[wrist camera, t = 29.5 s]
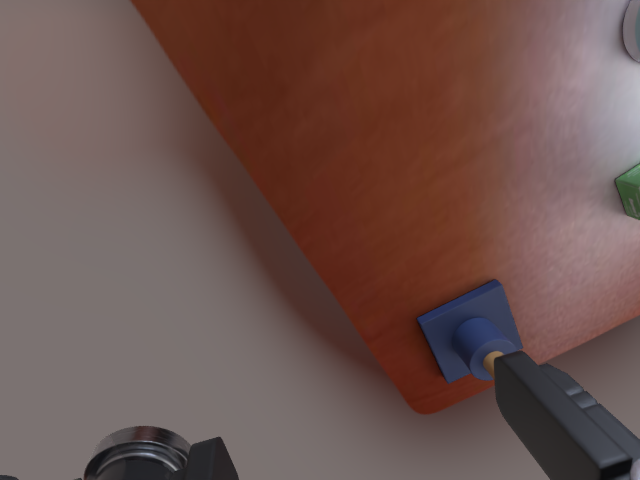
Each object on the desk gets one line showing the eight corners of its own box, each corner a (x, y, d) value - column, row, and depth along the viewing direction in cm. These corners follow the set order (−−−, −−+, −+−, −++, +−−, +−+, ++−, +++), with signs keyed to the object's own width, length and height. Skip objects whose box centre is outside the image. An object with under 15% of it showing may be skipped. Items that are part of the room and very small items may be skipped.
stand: (443, 376, 44) (480, 435, 36) (416, 318, 40) (450, 370, 33) (516, 341, 43) (568, 394, 36) (495, 278, 40) (548, 323, 32)
